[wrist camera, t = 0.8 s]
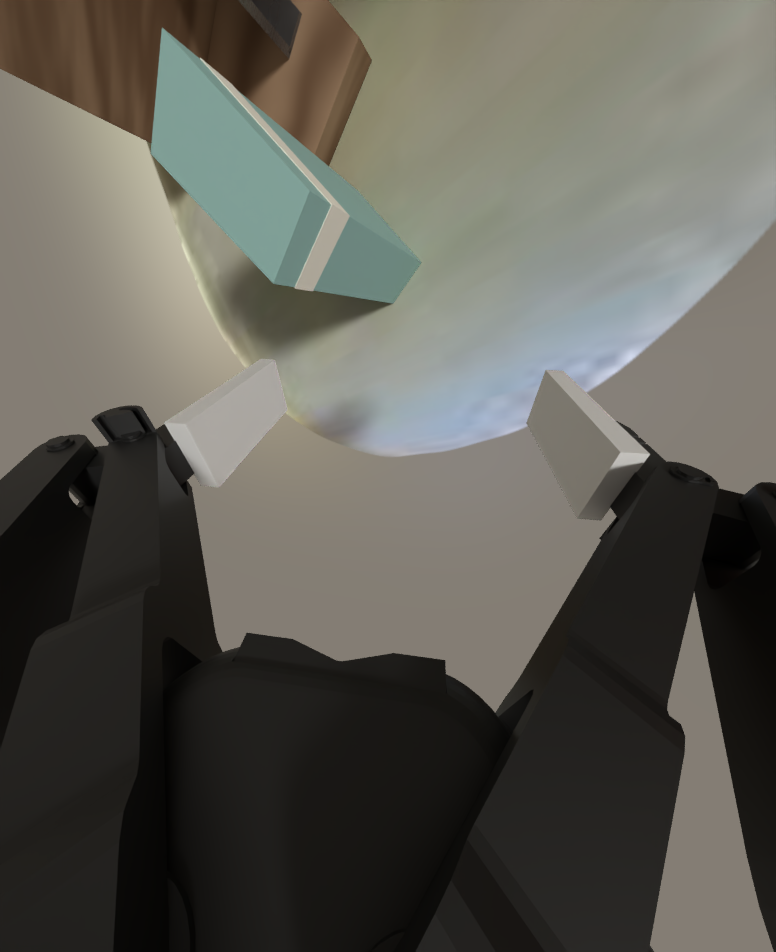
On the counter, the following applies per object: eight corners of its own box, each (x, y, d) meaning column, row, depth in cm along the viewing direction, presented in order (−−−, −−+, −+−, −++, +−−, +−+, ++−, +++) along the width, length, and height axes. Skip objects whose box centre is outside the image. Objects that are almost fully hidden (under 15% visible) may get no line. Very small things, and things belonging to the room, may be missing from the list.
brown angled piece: (371, 60, 25) (-33, -672, 7) (290, 259, 35) (48, 189, 17) (225, -113, 24) (-776, -1607, 5) (186, 146, 34) (-196, -58, 16)
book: (357, 189, 29) (161, 24, 13) (422, 262, 30) (310, 190, 14) (333, 238, 32) (149, 153, 16) (393, 304, 33) (273, 285, 17)
